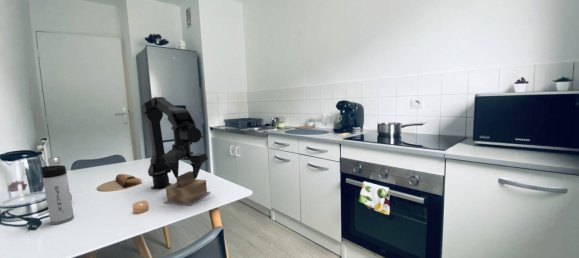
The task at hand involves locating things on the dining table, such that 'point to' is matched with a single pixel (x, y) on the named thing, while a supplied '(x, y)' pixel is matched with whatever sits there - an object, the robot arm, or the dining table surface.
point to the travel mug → (57, 194)
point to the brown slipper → (127, 180)
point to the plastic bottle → (55, 162)
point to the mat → (188, 203)
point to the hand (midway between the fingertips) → (185, 177)
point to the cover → (186, 189)
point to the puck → (140, 207)
